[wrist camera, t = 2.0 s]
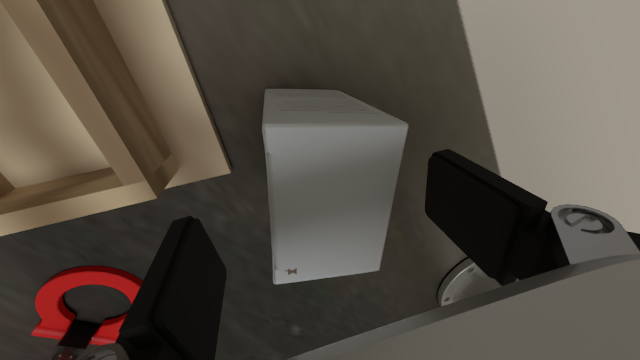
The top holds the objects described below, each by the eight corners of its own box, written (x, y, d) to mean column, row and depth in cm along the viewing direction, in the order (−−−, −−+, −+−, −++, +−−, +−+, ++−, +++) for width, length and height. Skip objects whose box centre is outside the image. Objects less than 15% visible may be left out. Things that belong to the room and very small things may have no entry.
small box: (332, 181, 22) (381, 275, 13) (269, 185, 21) (272, 290, 12) (339, 87, 18) (415, 123, 9) (263, 86, 17) (261, 123, 8)
